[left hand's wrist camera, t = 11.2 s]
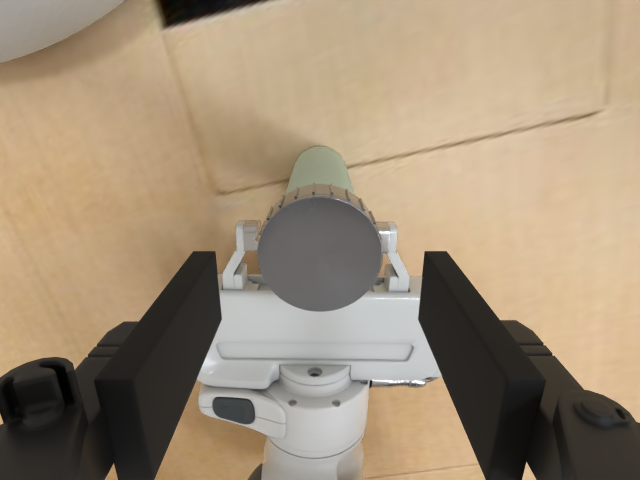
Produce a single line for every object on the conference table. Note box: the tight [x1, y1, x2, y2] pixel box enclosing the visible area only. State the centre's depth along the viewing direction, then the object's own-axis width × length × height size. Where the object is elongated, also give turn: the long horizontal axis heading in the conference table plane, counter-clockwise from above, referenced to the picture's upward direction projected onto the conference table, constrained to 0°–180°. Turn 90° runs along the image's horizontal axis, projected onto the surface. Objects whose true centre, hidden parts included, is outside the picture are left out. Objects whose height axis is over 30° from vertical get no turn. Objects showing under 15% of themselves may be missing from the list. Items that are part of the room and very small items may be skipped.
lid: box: [257, 183, 383, 312], centre depth 18 cm, size 5×5×2 cm
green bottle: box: [284, 146, 355, 196], centre depth 25 cm, size 4×4×17 cm
